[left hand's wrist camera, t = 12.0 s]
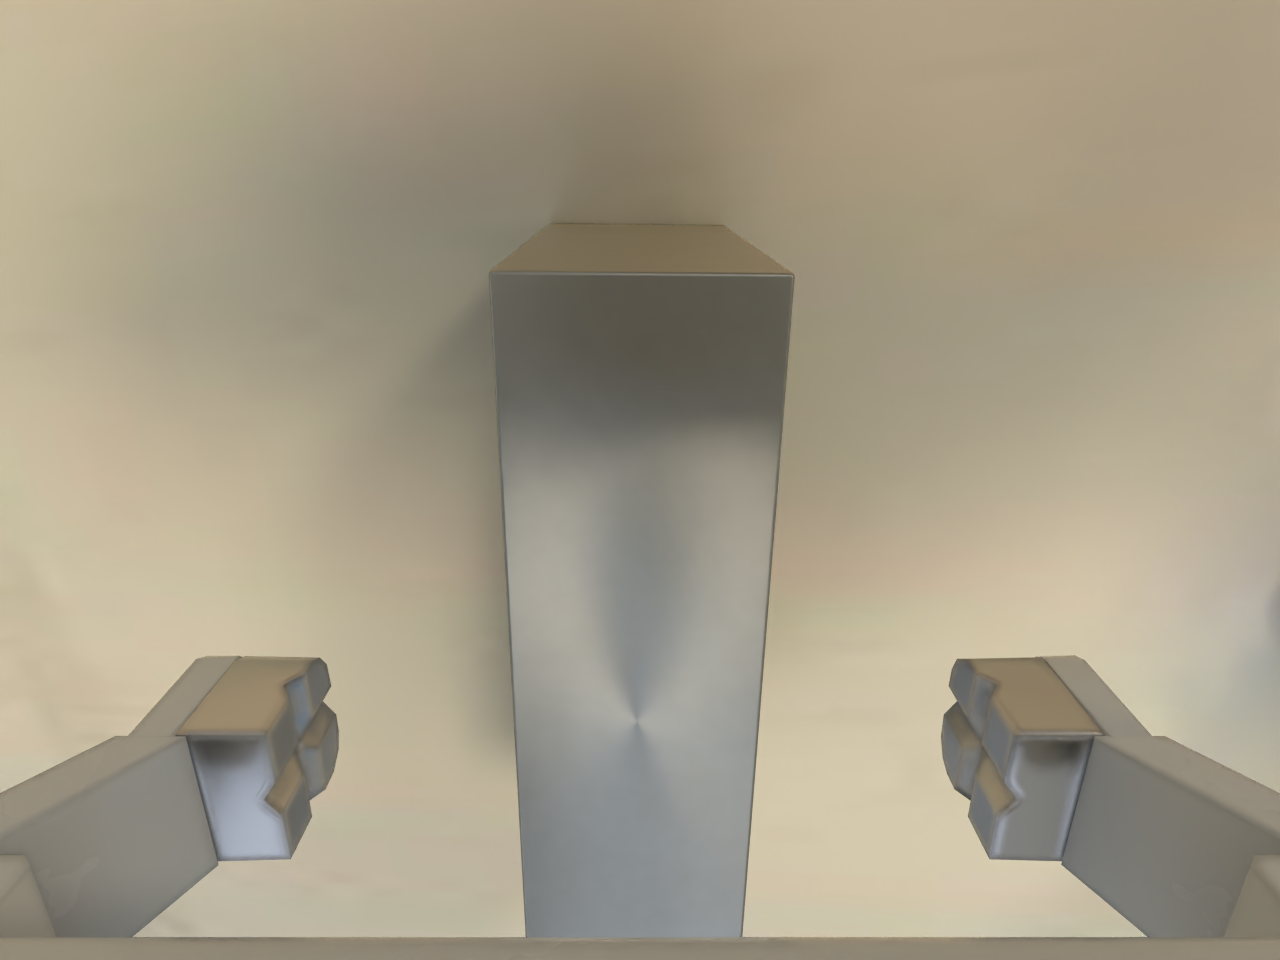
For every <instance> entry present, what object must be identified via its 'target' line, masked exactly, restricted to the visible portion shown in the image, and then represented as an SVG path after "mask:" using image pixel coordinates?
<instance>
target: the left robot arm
mask: <svg viewBox="0 0 1280 960" xmlns="http://www.w3.org/2000/svg"><path fill="white" fill-rule="evenodd" d="M330 687H331V683H330V678H329V673H328V669H327V664H326V663H325V662H324V661H323V660H322V659H320V658H308V657H260V656H244V657H241V656H206V657H202V658H199V659H196V660H195V661H194V662H193V663H192V665H191V666H190V667H189V668H188V669H187V670H186V671H185V672H184V674H183V675H182V676H181V677H180V678H179V679H178V680H177V681H176V683H175V684H174V685H173V686H172V687H171V688H170V689H169V690H168V692H167V693H166V694H165V695H164V696H163V697H162V698H161V699H160V701H159V702H158V703H157V704H156V705H155V706H154V707H153V708H152V710H151V711H150V712H149V713H148V714H147V715H146V716H145V717H144V719H143V720H142V721H141V722H140V723H139V724H138V725H137V726H136V728H135V729H134V730H133V731H132V732H131V733H130V734H129V735H128V736H115V737H113V738H111V739H109V740H107V741H105V742H103V743H101V744H99V745H97V746H95V747H93V748H91V749H89V750H86V751H84V752H82V753H80V754H78V755H76V756H74V757H72V758H70V759H68V760H66V761H64V762H62V763H60V764H58V765H56V766H54V767H52V768H50V769H48V770H46V771H44V772H42V773H40V774H38V775H36V776H34V777H32V778H30V779H28V780H26V781H24V782H22V783H20V784H18V785H16V786H14V787H12V788H10V789H8V790H6V791H4V792H2V793H0V960H1280V793H1278V792H1276V791H1274V790H1272V789H1270V788H1268V787H1266V786H1264V785H1262V784H1260V783H1258V782H1256V781H1254V780H1252V779H1250V778H1248V777H1246V776H1244V775H1242V774H1240V773H1238V772H1236V771H1234V770H1232V769H1230V768H1228V767H1226V766H1224V765H1222V764H1220V763H1218V762H1216V761H1214V760H1212V759H1210V758H1207V757H1205V756H1203V755H1201V754H1199V753H1197V752H1195V751H1193V750H1191V749H1189V748H1187V747H1185V746H1183V745H1181V744H1179V743H1177V742H1175V741H1173V740H1171V739H1169V738H1167V737H1165V736H1151V734H1150V733H1149V732H1148V731H1147V730H1146V729H1145V728H1144V727H1143V725H1142V724H1141V723H1140V722H1139V721H1138V720H1137V719H1136V717H1135V716H1134V715H1133V714H1132V713H1131V712H1130V711H1129V710H1128V708H1127V707H1126V706H1125V705H1124V704H1123V703H1122V702H1121V701H1120V699H1119V698H1118V697H1117V696H1116V695H1115V694H1114V693H1113V692H1112V690H1111V689H1110V688H1109V687H1108V686H1107V685H1106V684H1105V683H1104V681H1103V680H1102V679H1101V678H1100V677H1099V676H1098V675H1097V674H1096V672H1095V671H1094V670H1093V669H1092V668H1091V667H1090V666H1089V665H1088V663H1087V662H1086V661H1085V660H1083V659H1081V658H1079V657H1077V656H1075V655H1074V656H1044V657H1035V658H977V659H957V660H956V662H955V664H954V666H953V668H952V672H951V677H950V682H949V687H950V689H951V691H952V692H953V694H954V696H955V698H956V699H957V702H956V703H955V704H954V705H953V706H952V707H951V708H950V709H949V710H948V711H947V712H946V713H945V714H944V718H943V725H942V733H941V742H942V754H943V760H944V764H945V767H946V771H947V774H948V776H949V778H950V781H951V783H952V785H953V787H954V789H955V790H956V791H958V792H959V793H961V794H962V795H964V796H965V797H966V798H968V799H969V800H971V802H970V808H969V813H968V817H969V819H970V821H971V823H972V825H973V827H974V829H975V831H976V833H977V835H978V837H979V839H980V841H981V843H982V845H983V847H984V849H985V851H986V853H987V855H988V857H989V859H1002V860H1038V861H1062V864H1061V865H1063V866H1064V867H1065V868H1066V869H1067V870H1069V871H1070V872H1071V873H1072V874H1073V875H1075V876H1076V877H1077V878H1078V879H1079V880H1081V881H1082V882H1083V883H1084V884H1085V885H1087V886H1088V887H1089V888H1090V889H1091V890H1093V891H1094V892H1095V893H1096V894H1097V895H1098V896H1100V897H1101V898H1102V899H1103V900H1104V901H1106V902H1107V903H1108V904H1109V905H1110V906H1112V907H1113V908H1114V909H1115V910H1116V911H1118V912H1119V913H1120V914H1121V915H1122V916H1124V917H1125V918H1126V919H1127V920H1128V921H1130V922H1131V923H1132V924H1133V925H1134V926H1136V927H1137V928H1138V929H1139V930H1140V931H1141V932H1143V933H1144V934H1145V935H1146V936H1147V937H133V936H134V935H135V934H136V933H138V932H139V931H140V930H141V929H142V928H144V927H145V926H146V925H147V924H148V923H150V922H151V921H152V920H153V919H154V918H156V917H157V916H158V915H159V914H160V913H161V912H163V911H164V910H165V909H166V908H167V907H169V906H170V905H171V904H172V903H173V902H175V901H176V900H177V899H178V898H179V897H181V896H182V895H183V894H184V893H185V892H187V891H188V890H189V889H190V888H191V887H193V886H194V885H195V884H196V883H197V882H199V881H200V880H201V879H202V878H203V877H205V876H206V875H207V874H208V873H209V872H211V871H212V870H213V869H214V868H215V867H217V866H218V861H241V860H276V859H291V857H292V855H293V853H294V851H295V849H296V847H297V845H298V843H299V841H300V839H301V837H302V835H303V833H304V831H305V829H306V827H307V825H308V823H309V821H310V819H311V817H312V813H311V808H310V802H309V800H311V799H312V798H314V797H315V796H316V795H318V794H319V793H321V792H322V791H324V790H325V789H326V787H327V785H328V783H329V780H330V778H331V776H332V774H333V772H334V767H335V763H336V758H337V753H338V742H339V730H338V724H337V717H336V714H335V713H334V712H333V711H332V710H331V709H330V708H329V707H328V706H327V705H326V704H325V703H324V702H323V699H324V698H325V696H326V694H327V692H328V691H329V689H330Z"/></svg>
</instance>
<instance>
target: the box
mask: <svg viewBox="0 0 1280 960" xmlns="http://www.w3.org/2000/svg"><path fill="white" fill-rule="evenodd" d="M489 285H490V303H491V321H492V339H493V357H494V375H495V393H496V411H497V428H498V446H499V464H500V482H501V500H502V518H503V536H504V554H505V572H506V590H507V608H508V626H509V643H510V661H511V679H512V697H513V715H514V733H515V751H516V769H517V787H518V805H519V823H520V841H521V858H522V876H523V894H524V912H525V930H526V937H742V933H743V921H744V908H745V895H746V883H747V870H748V858H749V845H750V832H751V820H752V807H753V795H754V782H755V769H756V757H757V744H758V731H759V719H760V706H761V694H762V681H763V668H764V656H765V643H766V631H767V618H768V605H769V593H770V580H771V567H772V555H773V542H774V530H775V517H776V504H777V492H778V479H779V467H780V454H781V441H782V429H783V416H784V403H785V391H786V378H787V366H788V353H789V340H790V328H791V315H792V303H793V290H794V274H793V273H791V272H790V271H788V270H787V269H785V268H784V267H783V266H781V265H780V264H778V263H777V262H775V261H774V260H773V259H771V258H770V257H768V256H767V255H765V254H764V253H763V252H761V251H760V250H758V249H757V248H755V247H754V246H752V245H751V244H750V243H748V242H747V241H745V240H744V239H742V238H741V237H740V236H738V235H737V234H735V233H734V232H732V231H731V230H730V229H728V228H727V227H725V226H723V225H645V224H553V223H551V224H549V225H548V226H546V227H545V228H544V229H542V230H541V231H540V232H539V233H537V234H536V235H535V236H534V237H532V238H531V239H530V240H529V241H527V242H526V243H525V244H524V245H522V246H521V247H520V248H519V249H517V250H516V251H515V252H513V253H512V254H511V255H510V256H508V257H507V258H506V259H505V260H503V261H502V262H501V263H500V264H498V265H497V266H496V267H495V268H493V269H492V270H491V271H490V272H489Z"/></svg>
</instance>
